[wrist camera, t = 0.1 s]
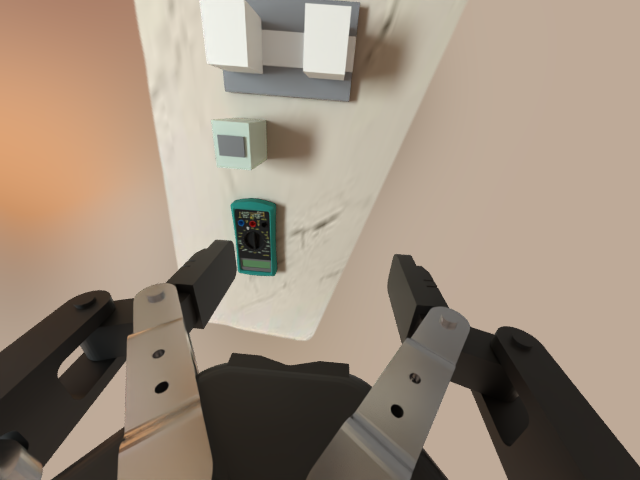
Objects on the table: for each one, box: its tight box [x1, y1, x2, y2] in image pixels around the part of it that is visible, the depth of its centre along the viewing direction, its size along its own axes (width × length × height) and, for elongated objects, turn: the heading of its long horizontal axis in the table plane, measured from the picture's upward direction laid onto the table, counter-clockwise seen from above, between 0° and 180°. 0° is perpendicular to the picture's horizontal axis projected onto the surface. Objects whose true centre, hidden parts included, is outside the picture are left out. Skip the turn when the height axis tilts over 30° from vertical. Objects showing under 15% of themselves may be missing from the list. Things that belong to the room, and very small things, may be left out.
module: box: [211, 118, 267, 170], centre depth 34 cm, size 6×4×8 cm
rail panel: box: [199, 0, 360, 102], centre depth 29 cm, size 10×17×8 cm, turn 86°
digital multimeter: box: [231, 198, 277, 276], centre depth 44 cm, size 7×15×3 cm, turn 176°
